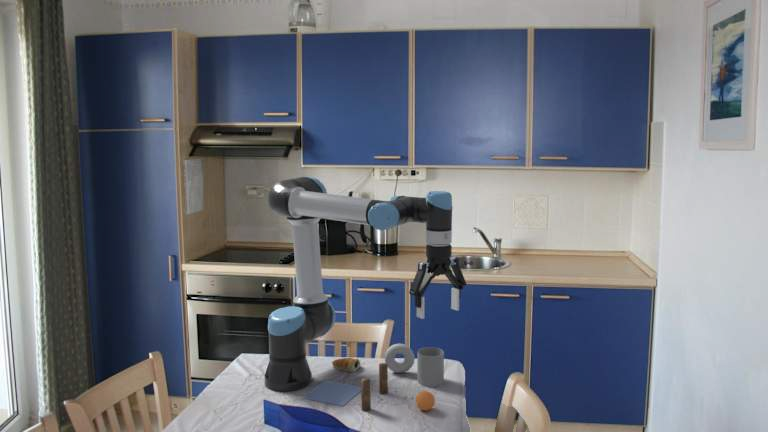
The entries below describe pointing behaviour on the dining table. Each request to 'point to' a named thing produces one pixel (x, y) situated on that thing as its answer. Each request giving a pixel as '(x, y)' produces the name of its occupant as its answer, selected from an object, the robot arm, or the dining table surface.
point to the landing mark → (333, 393)
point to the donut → (403, 365)
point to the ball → (425, 400)
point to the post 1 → (365, 394)
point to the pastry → (346, 364)
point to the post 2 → (383, 378)
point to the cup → (430, 366)
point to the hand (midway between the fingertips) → (438, 313)
